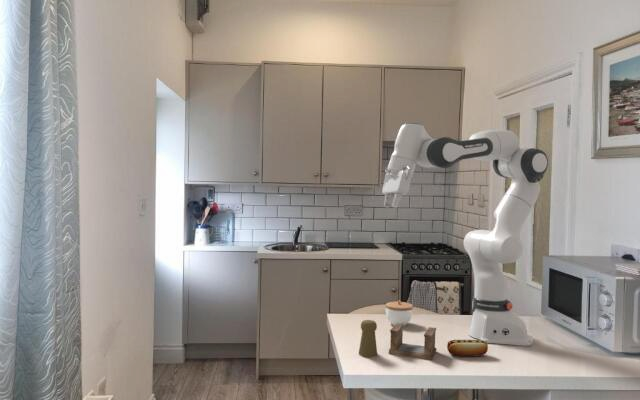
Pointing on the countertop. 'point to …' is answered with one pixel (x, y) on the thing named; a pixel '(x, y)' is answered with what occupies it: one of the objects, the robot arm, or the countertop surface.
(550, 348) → the countertop surface
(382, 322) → the countertop surface
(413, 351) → the holder
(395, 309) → the lidded jar
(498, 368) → the countertop surface
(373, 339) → the olive green bulbous cylinder
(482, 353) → the hot dog
